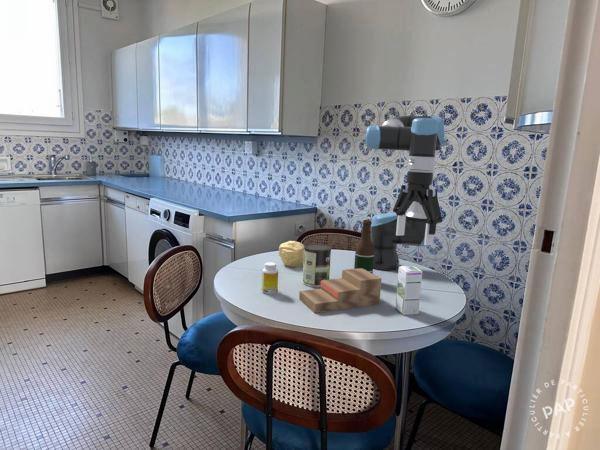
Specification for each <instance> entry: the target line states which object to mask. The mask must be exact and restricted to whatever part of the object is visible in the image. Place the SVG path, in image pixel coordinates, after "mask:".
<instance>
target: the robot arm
mask: <svg viewBox="0 0 600 450" xmlns="http://www.w3.org/2000/svg"><path fill="white" fill-rule="evenodd" d="M365 146H366V148H367V149H369V150H376V151H377V150H385V151H387V150H391V151H404V152H405V151H408V152H409V153H408V164H407V169H408V171H407V172H406V184H402V185H400V186H401V187H400V192H399V194H398V197H397V199H396V202H395V203H394V205H393V208H392V212H386V213H378V214H375V215H373V216H372V218H371V222H372V224H371V242H372V244H373V246H374V263H373V270H374V269H375V270H380V271H381V270H382V271H392V270H397V269H399V266H400V259H399V254H398V251H397V245H404V246H411V247H412V246H414V247H418V248H420V247H422V248H423V247H424V248H426V247H427V248H428V247H429V246H433V245H434V240H435V239H434V238H435V236H436V235H435V234H436V231H437V224H440V223H443V216H442V212H441V211H442V210H441V208H440V203H439V199H438V189H437V188H436V189H433V182H434V175H435V174H434V173H435V163H436V156H437V154H438V153H439V152H440V151H441V148H442V147H444V146H445V121H444V118H443V117H441V116H436V115H400V116H396V117H392V118H388V119H387V120H386V121H384V122H383V123H382V124H381V125H369V126H367V129H366V133H365Z"/></svg>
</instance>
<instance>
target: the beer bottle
mask: <svg viewBox="0 0 600 450" xmlns="http://www.w3.org/2000/svg"><path fill="white" fill-rule="evenodd" d="M371 224H372V220H370V219H363V220H362V229H361V236H360V240H359V242H358V243H357V244H356V247H355V251H354V252H355V254H354V265H353V266H354V267H353V269H358V268H363V269H365V270H366V271H368V272H370V273H372V274H374V273H373V272H374V268H373V263H374V246H373V244H372V242H371Z"/></svg>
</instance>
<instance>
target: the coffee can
mask: <svg viewBox="0 0 600 450" xmlns="http://www.w3.org/2000/svg"><path fill="white" fill-rule="evenodd" d="M331 253H332V246H330V245H327V244H321V243H310V244H309V243H308V244H305V245H304V263H303V265H302V266H303V268H302V284H303V285H305V286H306V287H311V288H321V286H320V283H321V280H329V279H330V274H331V273H330V272H331V255H332V254H331Z"/></svg>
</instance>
